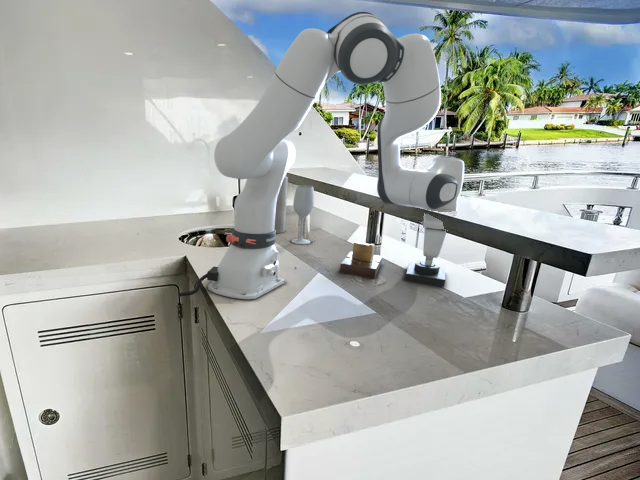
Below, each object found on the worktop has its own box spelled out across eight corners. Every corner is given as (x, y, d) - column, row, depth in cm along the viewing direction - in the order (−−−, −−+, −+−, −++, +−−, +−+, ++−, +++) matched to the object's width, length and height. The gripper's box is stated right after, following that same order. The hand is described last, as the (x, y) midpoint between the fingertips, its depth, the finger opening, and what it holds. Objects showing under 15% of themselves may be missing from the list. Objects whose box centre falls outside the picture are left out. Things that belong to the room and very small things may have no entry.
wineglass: (312, 244, 142) (317, 188, 135) (291, 244, 142) (295, 187, 135) (309, 239, 149) (313, 185, 142) (289, 238, 149) (293, 184, 142)
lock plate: (374, 278, 110) (376, 268, 108) (339, 272, 114) (340, 262, 113) (381, 265, 121) (382, 255, 120) (349, 259, 126) (350, 250, 125)
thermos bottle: (261, 230, 160) (264, 162, 151) (272, 227, 166) (276, 161, 157) (277, 234, 156) (281, 163, 146) (288, 230, 161) (292, 162, 152)
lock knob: (351, 257, 118) (353, 241, 116) (354, 256, 119) (356, 240, 117) (370, 262, 114) (372, 245, 112) (373, 260, 115) (375, 244, 114)
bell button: (433, 272, 109) (434, 266, 108) (419, 270, 110) (420, 264, 110) (433, 268, 112) (434, 263, 111) (419, 266, 113) (421, 261, 113)
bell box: (443, 287, 105) (446, 273, 103) (405, 280, 109) (407, 267, 107) (443, 273, 115) (446, 261, 113) (408, 268, 119) (410, 256, 118)
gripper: (426, 209, 116) (418, 253, 120) (423, 222, 98) (414, 272, 103) (449, 212, 113) (440, 256, 118) (450, 225, 96) (440, 276, 100)
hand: (428, 264), depth 110 cm, fingers closed, pressing on bell button
